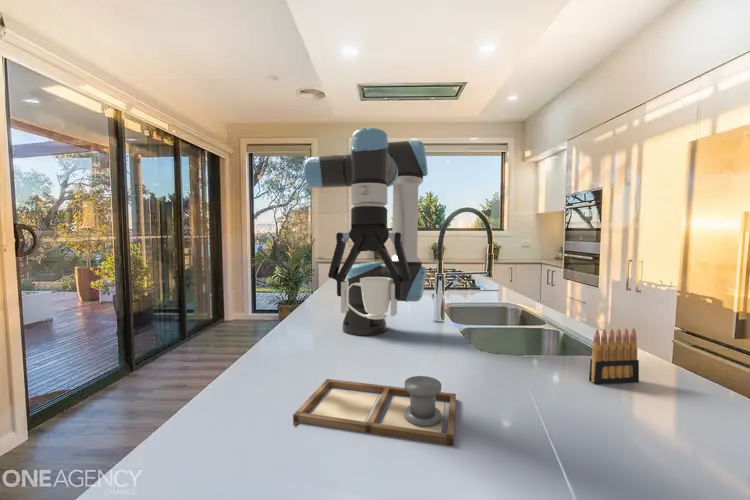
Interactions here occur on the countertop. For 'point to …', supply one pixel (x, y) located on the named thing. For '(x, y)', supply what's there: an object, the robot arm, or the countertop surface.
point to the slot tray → (356, 406)
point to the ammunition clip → (614, 358)
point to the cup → (374, 296)
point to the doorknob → (422, 401)
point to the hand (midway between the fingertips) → (368, 313)
